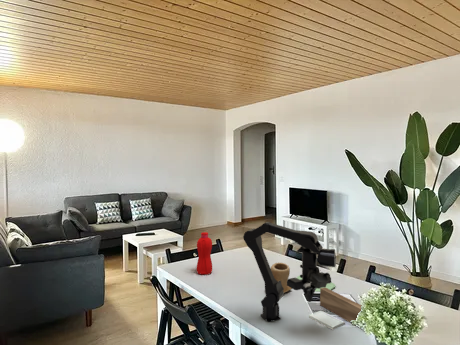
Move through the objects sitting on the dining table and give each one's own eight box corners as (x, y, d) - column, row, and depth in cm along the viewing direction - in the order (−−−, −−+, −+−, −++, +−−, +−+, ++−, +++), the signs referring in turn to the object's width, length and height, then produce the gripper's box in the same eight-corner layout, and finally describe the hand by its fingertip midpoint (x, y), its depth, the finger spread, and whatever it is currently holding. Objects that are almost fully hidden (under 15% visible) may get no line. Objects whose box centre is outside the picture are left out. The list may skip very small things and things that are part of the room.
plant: (284, 281, 175) (284, 266, 175) (307, 274, 187) (307, 259, 187) (320, 296, 155) (320, 278, 155) (343, 286, 167) (343, 270, 167)
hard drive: (345, 321, 126) (321, 310, 136) (333, 327, 121) (308, 314, 132) (345, 325, 126) (321, 313, 136) (332, 331, 121) (308, 318, 132)
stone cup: (279, 299, 149) (279, 269, 149) (261, 292, 159) (262, 263, 158) (298, 291, 159) (298, 263, 159) (281, 285, 168) (281, 258, 168)
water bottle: (213, 269, 193) (213, 230, 193) (210, 275, 183) (210, 234, 182) (199, 269, 194) (199, 230, 194) (195, 275, 183) (195, 233, 183)
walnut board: (366, 331, 120) (366, 311, 120) (320, 305, 143) (320, 288, 143) (371, 330, 121) (371, 310, 121) (324, 303, 145) (325, 287, 145)
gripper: (304, 273, 112) (304, 315, 112) (341, 266, 120) (341, 305, 121) (286, 264, 122) (286, 303, 122) (321, 258, 130) (321, 294, 131)
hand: (309, 301), depth 124 cm, fingers closed
